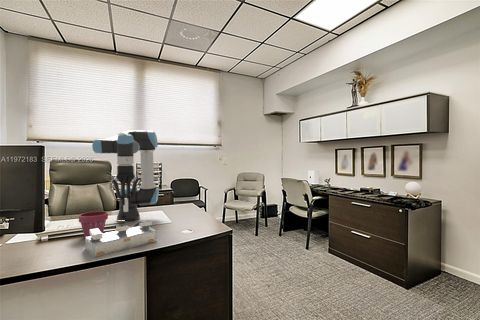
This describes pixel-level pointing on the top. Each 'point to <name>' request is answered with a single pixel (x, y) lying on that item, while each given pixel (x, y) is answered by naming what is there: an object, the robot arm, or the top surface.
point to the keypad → (137, 225)
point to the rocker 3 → (145, 223)
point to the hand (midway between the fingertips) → (125, 211)
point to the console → (119, 240)
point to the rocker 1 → (95, 233)
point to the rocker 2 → (122, 228)
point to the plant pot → (93, 221)
